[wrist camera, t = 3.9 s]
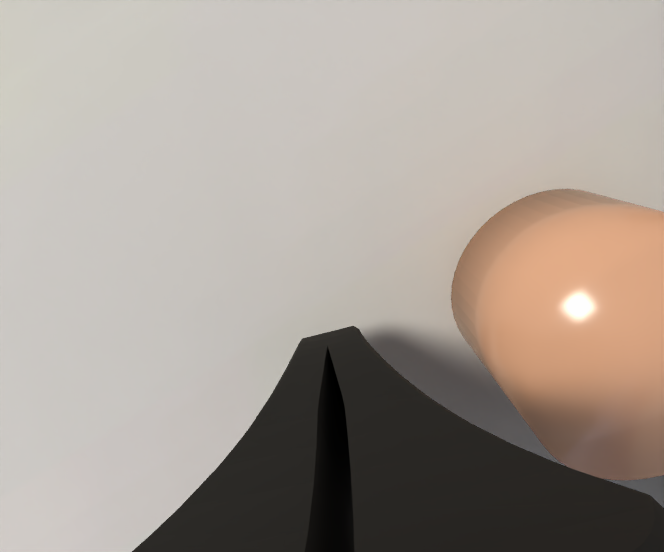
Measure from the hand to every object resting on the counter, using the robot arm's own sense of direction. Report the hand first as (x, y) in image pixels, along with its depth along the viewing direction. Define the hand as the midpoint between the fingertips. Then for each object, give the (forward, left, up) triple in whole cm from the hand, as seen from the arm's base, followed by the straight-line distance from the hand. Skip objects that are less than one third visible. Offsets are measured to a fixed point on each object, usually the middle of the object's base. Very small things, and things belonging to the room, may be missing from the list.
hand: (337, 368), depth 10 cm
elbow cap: (0, -6, -2) cm, 6 cm away
